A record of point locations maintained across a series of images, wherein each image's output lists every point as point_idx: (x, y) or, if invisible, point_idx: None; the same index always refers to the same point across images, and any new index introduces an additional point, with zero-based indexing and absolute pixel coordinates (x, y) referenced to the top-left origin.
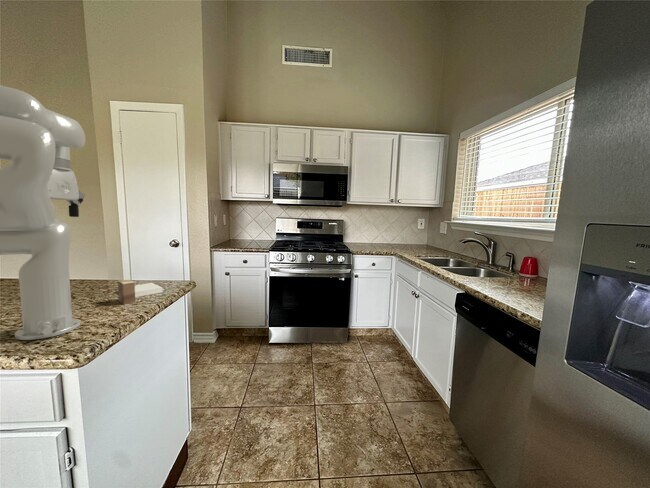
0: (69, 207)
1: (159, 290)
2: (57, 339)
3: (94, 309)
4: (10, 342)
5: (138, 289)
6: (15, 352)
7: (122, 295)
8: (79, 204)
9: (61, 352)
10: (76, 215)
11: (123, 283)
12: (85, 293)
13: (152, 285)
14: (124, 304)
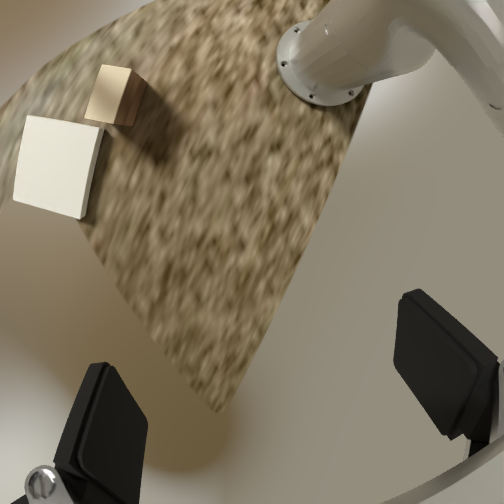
0: (134, 490)
1: (37, 116)
2: None
3: (201, 112)
4: None
5: (64, 150)
6: None
7: (137, 89)
8: (36, 480)
9: None
10: (108, 370)
11: (130, 69)
12: (134, 290)
13: (25, 163)
14: (146, 82)
